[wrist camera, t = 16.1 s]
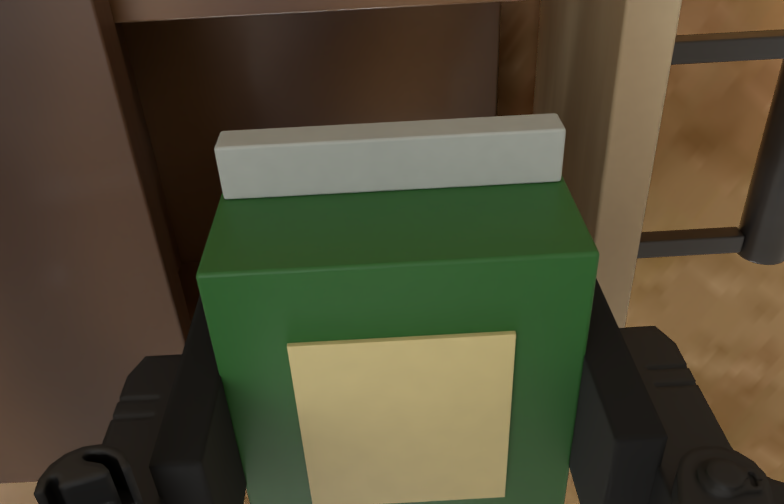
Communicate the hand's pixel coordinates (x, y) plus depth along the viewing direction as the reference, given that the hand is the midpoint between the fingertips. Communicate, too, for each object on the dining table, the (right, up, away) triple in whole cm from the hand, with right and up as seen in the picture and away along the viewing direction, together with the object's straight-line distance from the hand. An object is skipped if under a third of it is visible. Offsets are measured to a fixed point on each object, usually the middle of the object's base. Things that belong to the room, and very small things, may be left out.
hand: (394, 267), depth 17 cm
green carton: (0, 0, 0) cm, 0 cm away
